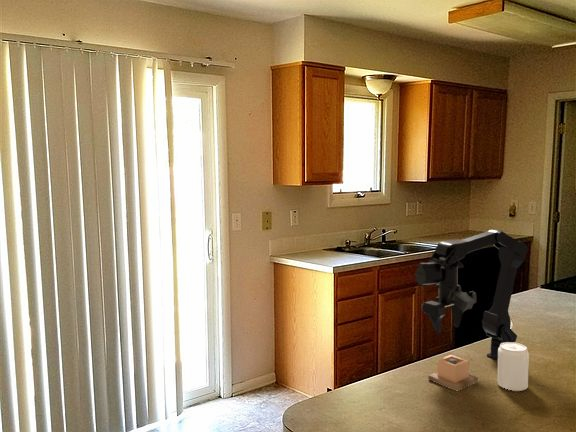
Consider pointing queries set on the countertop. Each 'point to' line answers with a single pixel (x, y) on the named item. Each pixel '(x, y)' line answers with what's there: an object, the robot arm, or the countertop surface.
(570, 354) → the countertop surface
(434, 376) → the post stand
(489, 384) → the countertop surface
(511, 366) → the beverage can
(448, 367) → the collar
